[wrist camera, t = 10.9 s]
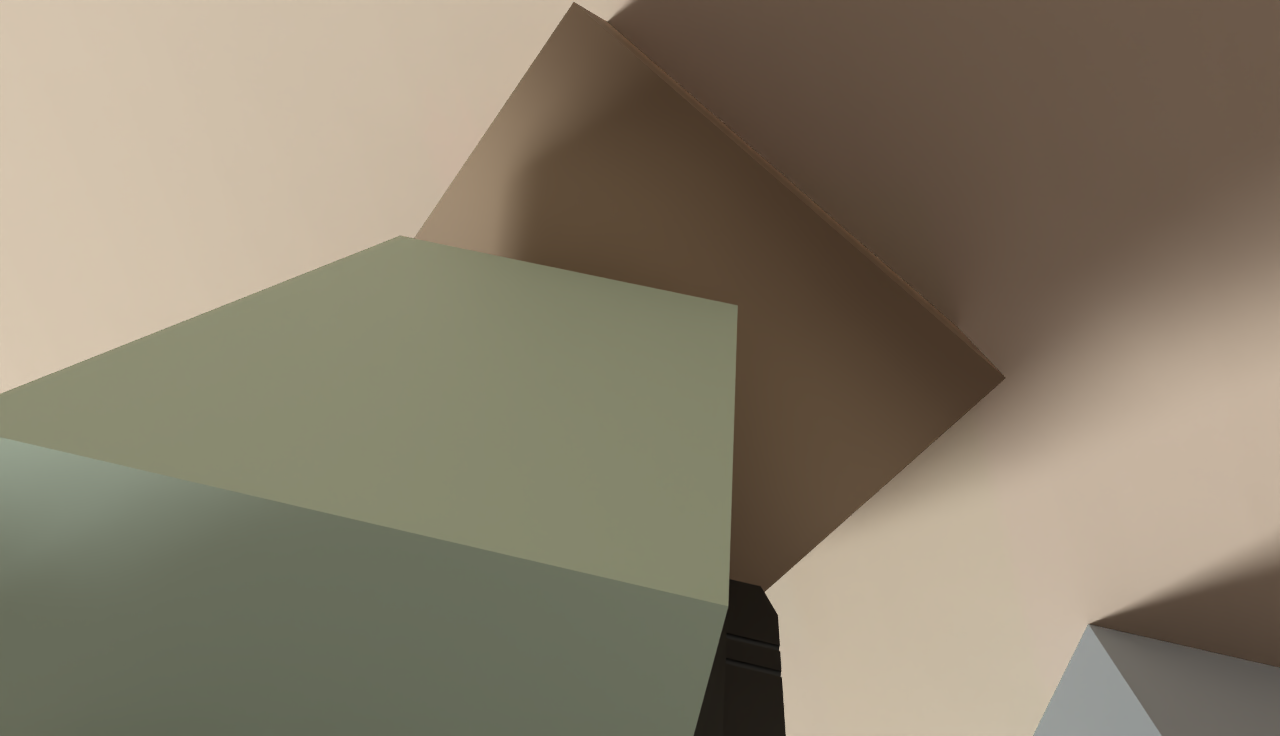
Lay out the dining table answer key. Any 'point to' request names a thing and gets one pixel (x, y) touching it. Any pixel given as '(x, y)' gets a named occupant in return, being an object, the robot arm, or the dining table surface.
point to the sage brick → (377, 511)
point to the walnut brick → (721, 280)
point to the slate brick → (1160, 691)
